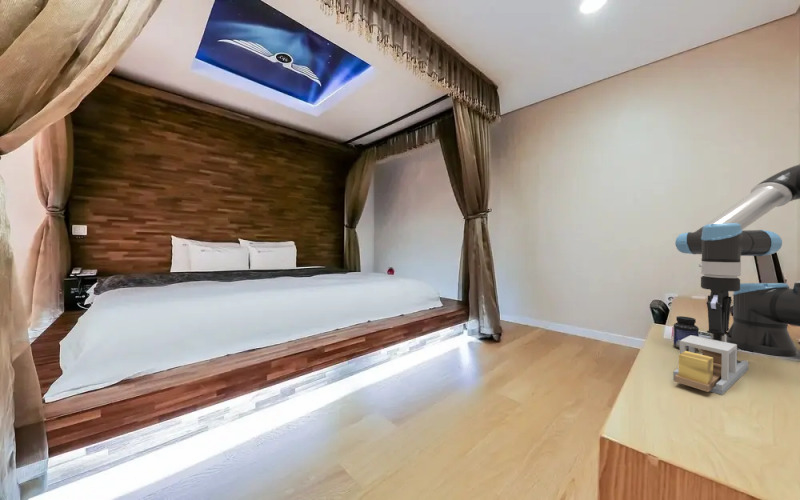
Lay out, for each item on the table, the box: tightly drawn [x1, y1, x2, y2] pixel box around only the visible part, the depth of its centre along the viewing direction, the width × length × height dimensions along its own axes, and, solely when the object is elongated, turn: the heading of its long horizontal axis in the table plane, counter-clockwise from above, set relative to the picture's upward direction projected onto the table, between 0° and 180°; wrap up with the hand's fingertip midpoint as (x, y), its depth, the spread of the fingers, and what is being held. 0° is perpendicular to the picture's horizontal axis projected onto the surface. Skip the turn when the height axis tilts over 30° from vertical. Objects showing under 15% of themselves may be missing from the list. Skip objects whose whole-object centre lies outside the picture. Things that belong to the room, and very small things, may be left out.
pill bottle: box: [673, 315, 700, 353], centre depth 97 cm, size 6×6×11 cm
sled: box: [673, 349, 730, 393], centre depth 74 cm, size 22×6×7 cm, turn 120°
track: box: [672, 335, 749, 396], centre depth 78 cm, size 27×9×10 cm, turn 120°
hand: (718, 355), depth 81 cm, fingers closed
